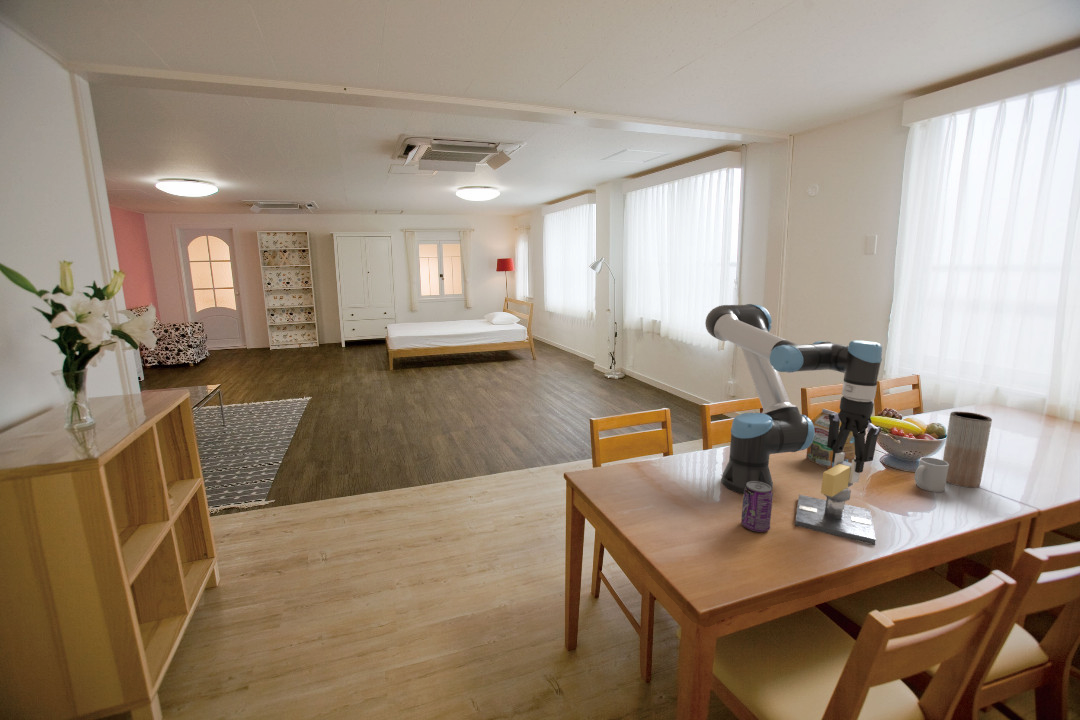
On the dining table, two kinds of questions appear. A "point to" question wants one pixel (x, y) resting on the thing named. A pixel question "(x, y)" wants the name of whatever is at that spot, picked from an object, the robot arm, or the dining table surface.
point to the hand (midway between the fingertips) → (845, 478)
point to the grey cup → (931, 474)
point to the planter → (966, 448)
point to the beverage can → (757, 506)
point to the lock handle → (837, 482)
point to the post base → (835, 518)
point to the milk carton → (819, 448)
